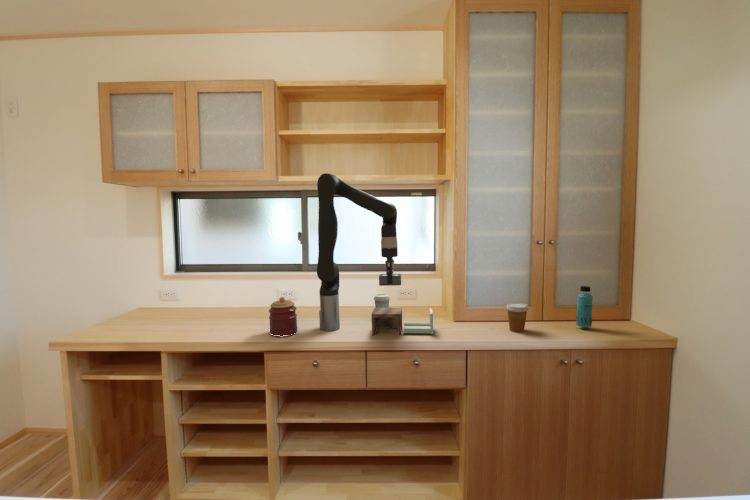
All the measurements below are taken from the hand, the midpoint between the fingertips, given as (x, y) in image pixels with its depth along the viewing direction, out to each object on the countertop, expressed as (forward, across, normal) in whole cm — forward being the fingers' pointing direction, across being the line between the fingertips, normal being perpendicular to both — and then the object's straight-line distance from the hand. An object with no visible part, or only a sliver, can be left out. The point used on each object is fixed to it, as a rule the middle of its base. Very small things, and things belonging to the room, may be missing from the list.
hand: (390, 282), depth 177 cm
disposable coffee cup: (+24, -3, +58) cm, 63 cm away
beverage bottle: (+25, -6, +89) cm, 93 cm away
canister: (+24, +4, -52) cm, 57 cm away
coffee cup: (+24, -24, -7) cm, 35 cm away
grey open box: (+1, 0, 0) cm, 1 cm away
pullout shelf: (+23, 0, +12) cm, 26 cm away
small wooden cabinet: (+24, 0, -2) cm, 24 cm away
